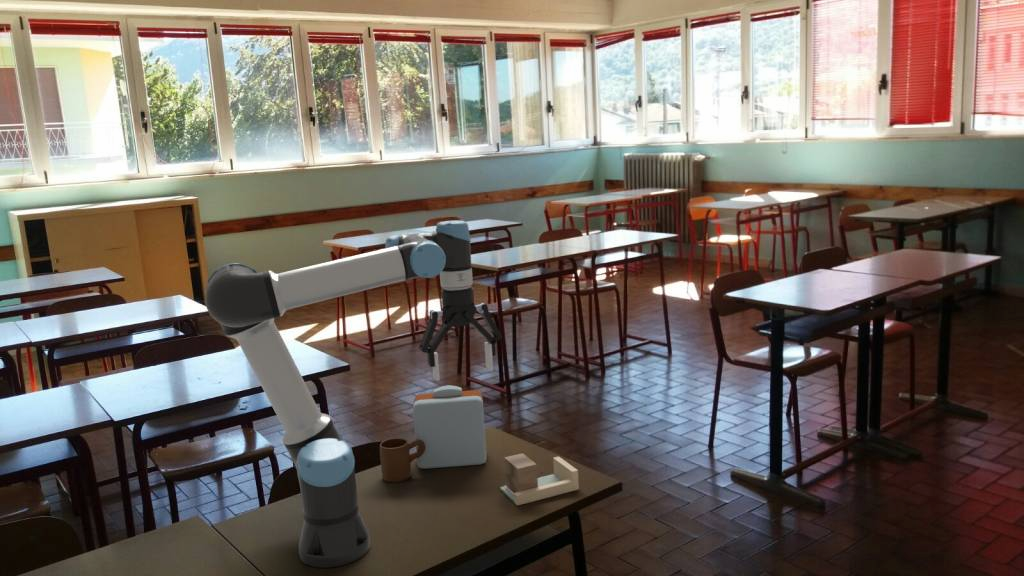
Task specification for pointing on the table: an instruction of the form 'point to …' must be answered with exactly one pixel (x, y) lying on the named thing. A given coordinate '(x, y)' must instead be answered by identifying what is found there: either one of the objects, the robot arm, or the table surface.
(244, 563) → the table surface
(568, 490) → the toy stand
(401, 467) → the mug
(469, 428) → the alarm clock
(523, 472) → the block
